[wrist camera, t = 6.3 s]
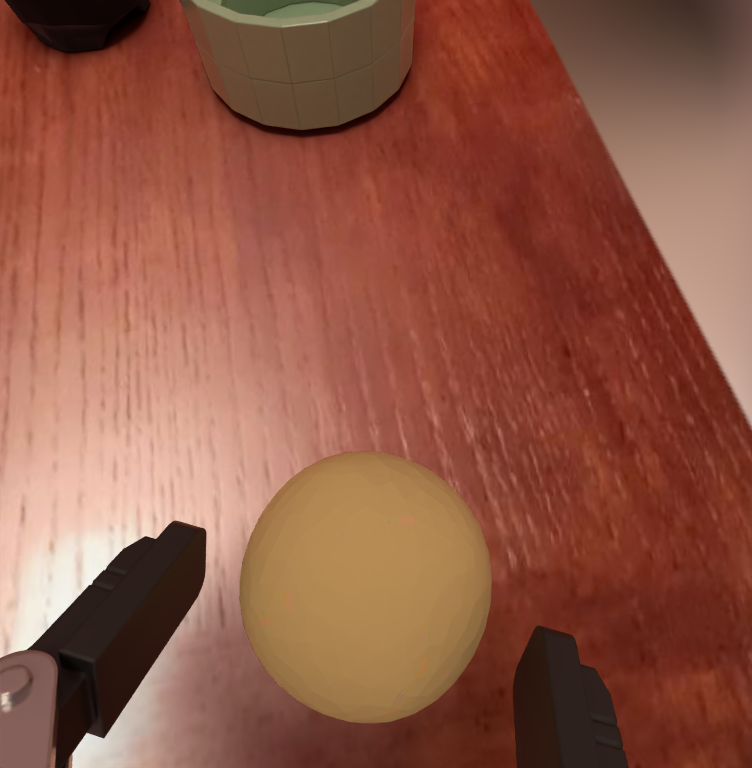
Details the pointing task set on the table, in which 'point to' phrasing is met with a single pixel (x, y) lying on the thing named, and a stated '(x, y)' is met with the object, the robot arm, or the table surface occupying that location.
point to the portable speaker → (73, 20)
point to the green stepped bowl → (303, 56)
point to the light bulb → (366, 587)
